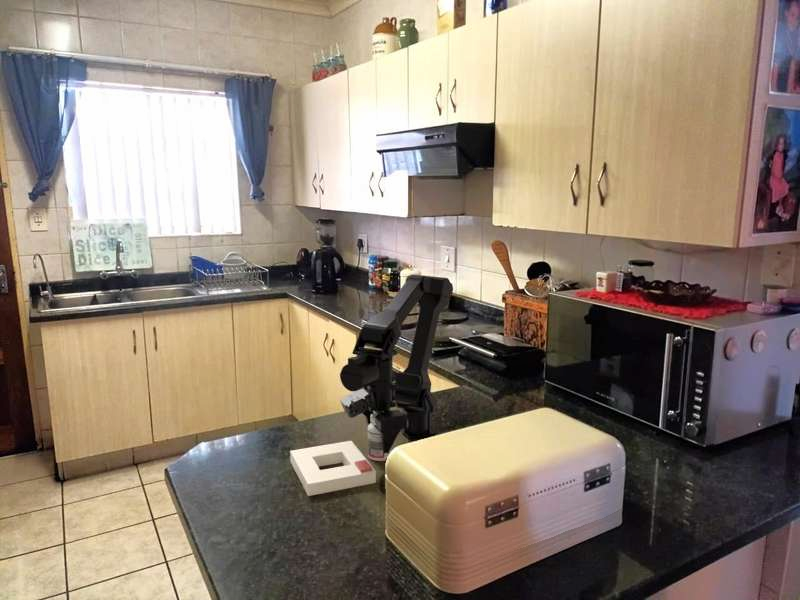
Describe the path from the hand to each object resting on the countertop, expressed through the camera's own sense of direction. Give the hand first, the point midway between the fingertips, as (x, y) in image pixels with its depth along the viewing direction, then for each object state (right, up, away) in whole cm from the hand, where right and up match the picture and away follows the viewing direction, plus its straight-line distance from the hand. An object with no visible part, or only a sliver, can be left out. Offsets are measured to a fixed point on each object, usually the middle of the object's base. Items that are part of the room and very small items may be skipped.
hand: (379, 445), depth 130 cm
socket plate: (-10, -4, -7) cm, 13 cm away
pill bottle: (0, -3, 0) cm, 3 cm away
